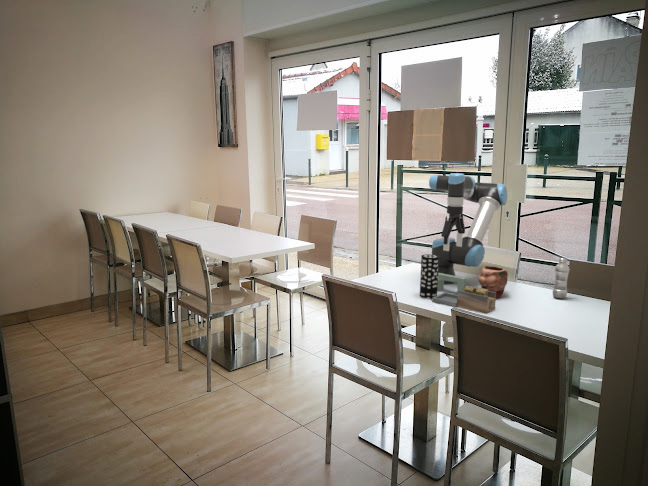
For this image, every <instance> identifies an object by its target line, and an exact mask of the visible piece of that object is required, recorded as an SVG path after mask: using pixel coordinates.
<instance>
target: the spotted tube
mask: <svg viewBox="0 0 648 486" xmlns="http://www.w3.org/2000/svg"><path fill="white" fill-rule="evenodd" d="M438 269H439V256H437V255H432V253H431V254H427V253H426V254H425V253H424V254H422V255H421V261H420V282H419V283H420V284H419V296H420V297H421V298H423V299H429V300H430V299H431V300H432V298H433V297H435V296H438V292H437V288H438Z"/></svg>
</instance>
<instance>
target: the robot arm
mask: <svg viewBox="0 0 648 486" xmlns="http://www.w3.org/2000/svg"><path fill="white" fill-rule="evenodd" d="M428 183H429V184H428V187H429V189H431V190H435V191H442V192H446V193H447V198H446V201H447V202H446V204H447V206H446V213H447V214H448V216H445V221H444V224H443V228H442V232H441V237H442V238H435V239H434V240H433V241H432V244H431V246H432V247H431V254H432V255H437V256H439V269H438V273H443V274H448V275H453V276H456V272H455V269H454V265H459V266H465V267H469V268H470V267H472V268H474V267H475V268H476V267H478V266H480V264H481V263H483V260H484V258H485V255H486V254H485V252H486V251H485V246H484V244H483V240H484V238H485V236H486V234H487V232H488V229H489V226H490V224H491V222H492V218H493V217H494V215H495V212H496V211H498V210H499V209H500V208H501V206H505V205H506V204H507V202H508V189H507V186H506V184H504V183H498V182H497V183H491V182H479V181H478V182H476V180H475V178H474V177H472V176H470V175H465V174H464V173H459V172H456V173H453V172H451V173H450V174H448V175H444V174H443V175H441V174H439V175H438V174H432V175H431V176H430V178H429V179H428ZM464 200H465V201H468V202H472V203H475V204H478V205H479V206H478V208H477V211H476V213H475V215H474V217H473V221H472V222H471V224H470V227H469V229H468V232H467V234H466V236H463V234H465V233H466V228H465V222H464V213H463V211H464V207H463V206H464ZM453 227H455V228H456V230H457V233H456V239H455V238H454V237H450V235H451V233H452V229H453ZM450 284H451V285H452V284H455V282H450V281H445V280H444V285H450Z"/></svg>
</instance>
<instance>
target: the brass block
mask: <svg viewBox="0 0 648 486" xmlns="http://www.w3.org/2000/svg"><path fill="white" fill-rule="evenodd" d="M477 289H478V287H476V286H471V285H466V287H465V292H468V293H473V294H476V290H477Z"/></svg>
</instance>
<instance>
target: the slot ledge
mask: <svg viewBox="0 0 648 486" xmlns="http://www.w3.org/2000/svg"><path fill="white" fill-rule="evenodd" d="M456 295H457V294H456ZM496 300H497V298H496V292H491V291H488V297H487V296H482V295H478V294H473V293H468V292H463V291H458V295H457V307H456V308H460V309H465V310H469V311H474V312H477V313H482V314H488V313H489V312H491V311H493V310H495V308H496V302H497V301H496Z"/></svg>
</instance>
